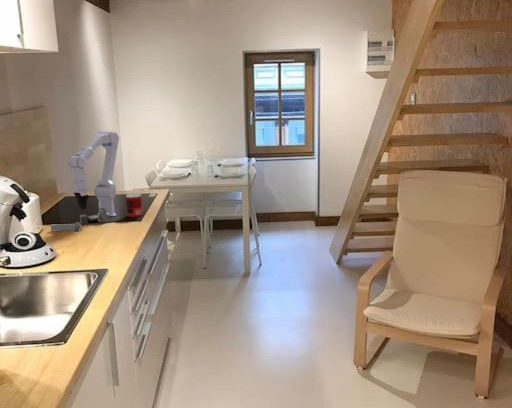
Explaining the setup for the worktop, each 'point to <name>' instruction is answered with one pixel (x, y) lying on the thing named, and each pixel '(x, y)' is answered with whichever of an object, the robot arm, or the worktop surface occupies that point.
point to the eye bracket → (103, 216)
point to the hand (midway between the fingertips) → (82, 207)
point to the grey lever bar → (65, 226)
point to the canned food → (134, 205)
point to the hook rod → (90, 218)
